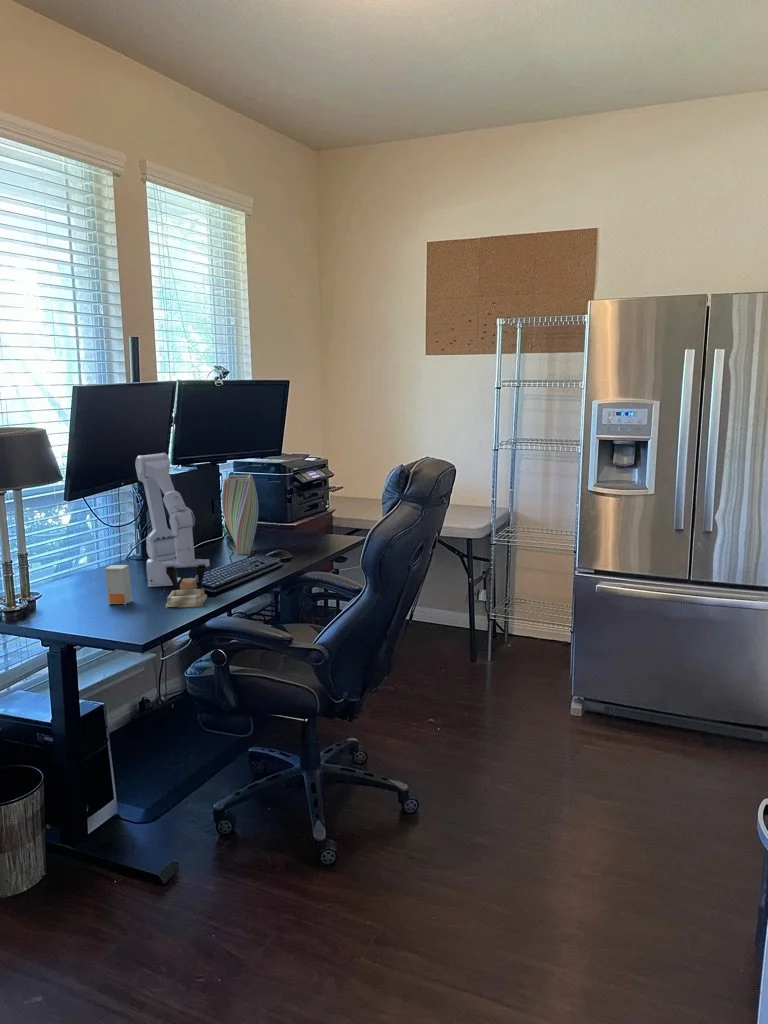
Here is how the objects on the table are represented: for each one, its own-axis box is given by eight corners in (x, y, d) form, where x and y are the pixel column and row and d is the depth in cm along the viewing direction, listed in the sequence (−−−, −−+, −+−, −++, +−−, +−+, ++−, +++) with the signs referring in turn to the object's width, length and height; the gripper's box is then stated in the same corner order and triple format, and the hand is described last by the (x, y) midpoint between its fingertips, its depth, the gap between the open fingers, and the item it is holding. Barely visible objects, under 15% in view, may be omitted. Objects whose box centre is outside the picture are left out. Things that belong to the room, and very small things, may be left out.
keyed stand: (165, 608, 228) (164, 598, 227) (171, 599, 237) (170, 589, 236) (202, 606, 228) (201, 596, 228) (206, 597, 237) (206, 588, 237)
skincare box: (108, 605, 233) (104, 568, 230) (114, 601, 237) (110, 564, 234) (126, 605, 232) (122, 568, 229) (133, 601, 236) (129, 564, 233)
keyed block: (180, 597, 238) (179, 584, 237) (184, 591, 244) (183, 578, 243) (193, 596, 238) (192, 583, 238) (196, 591, 244) (195, 578, 243)
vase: (225, 558, 285) (218, 480, 279) (227, 549, 298) (221, 475, 292) (260, 555, 286) (255, 478, 280) (262, 547, 299) (256, 473, 293)
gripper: (158, 552, 234) (162, 593, 237) (205, 549, 235) (209, 591, 237) (163, 546, 241) (167, 587, 243) (209, 544, 242) (212, 584, 244)
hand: (188, 588), depth 241 cm, fingers open, 7 cm apart
